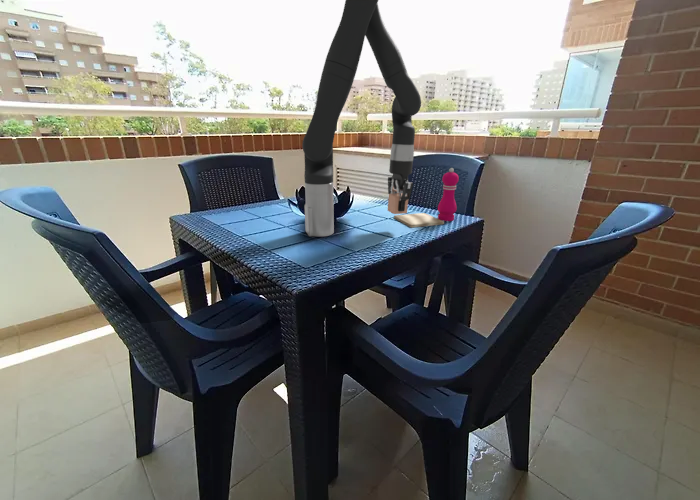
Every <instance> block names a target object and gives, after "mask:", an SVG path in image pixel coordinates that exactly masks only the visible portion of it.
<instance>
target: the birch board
mask: <svg viewBox="0 0 700 500" xmlns="http://www.w3.org/2000/svg"><path fill="white" fill-rule="evenodd" d="M393 219H395V220H397V221H398V222H401V223H402V224H404V225H405V226H408V227H410V228H420V227H428V226H429V227H431V226H439V225H444V224H445V221H442V220H439V219H438V217H435V216H432V215H430V214H428V213H425V212H422V213H421V212H420V213H408V214H407V213H405V214H394V215H393Z"/></svg>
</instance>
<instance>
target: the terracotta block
mask: <svg viewBox="0 0 700 500" xmlns="http://www.w3.org/2000/svg"><path fill="white" fill-rule="evenodd" d="M401 196H402V194H401ZM387 199H388V203H387V212H390V213H391V214H393V215H405V214H407V213H408V206H409V200H406V201H405V210H404V211H401V212H400V211H398V203H399V195H398V194H397V193H396V194H388V198H387Z"/></svg>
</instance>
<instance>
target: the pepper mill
mask: <svg viewBox="0 0 700 500" xmlns="http://www.w3.org/2000/svg"><path fill="white" fill-rule="evenodd" d="M454 169H455V168H453V167H450V168H449V169H448V172H446V173H444V174H443V175H442V183H443V185H442V189H443V193H442V197H441V199H440V201H439V203H438V205H437V211H438V215H437V219H439V220H441V221H444V222H453V221H454V220H455V213H456V212H457V208H458V207H457V202H456V200H455V192H456V191H455V190H457V184H458V183H459V175H458V174H457V173H456V172H454V171H455V170H454Z"/></svg>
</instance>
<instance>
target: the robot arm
mask: <svg viewBox="0 0 700 500" xmlns="http://www.w3.org/2000/svg"><path fill="white" fill-rule="evenodd" d="M378 2H379V0H345V2H344V7H343V12H342V16H341V17H340V19H341V20H340V22H339V24H338V27H337V29H336V31H335V34H334V36H333V39H332V41H331V43H330V46H329V49H328V52H327V55H326V57H325V61H324V64H323V69H322V72H321V77H320V79H319V80H320V81H319V84H318V90H317V93H316V94H317V95H316V101H315V106H314V111H313V113H312V117H311V120H310V122H309V125H308V128H307V131H306V132H305V134H304V136H303V140H302V145H301V146H302V147H301V148H302V151H303V154H304V191H305V196H304V197H305V204H304V224H305V225H304V227H305V232H306V234H307V236H308V237H328V236H331V235H333V234H334V232H335V229H334V228H335V225H334V222H335V219H334V218H335V217H334V214H335V213H334V211H335V210H334V206H335V205H334V148H333V147H334V139H335V134H336V130H337V126H338V121H339V118H340V116H341V113H342V111H343V109H344V107H345V105H346V102H347V101H348V100H347V99H348V97H349V95H350V93H351V90H352V87H353V84H354V80H355V78H356V74H357V71H358V67H359V63H360V58H361V55H362V53H363V52H362V50H363V47H364V43H365V38H366V40H367V42H368V44H369V46H370V49H371V51H372V54H373V55H374V58H375V60H376V63H377V65H378V68H379V70H380V73H381V75H382V79H383V80H384V83H385V85H386V87H387V88H388V89H391V91H392V93H393V94H394V96H395V97H394V98H393V101H392V105H391V120H392V129H393V131H392V142H391V149H390V157H389V169H388V171H389V174H391V175H392V176H387V193H388V195H389V194H396V193H397V194H398V195H399V203H398V211H400V212H401V211H404V210H405V201H406V200H408V201H409V200H410V198H411V196H412V195H411V194H412V190H413V187H414V182H411V181H409V175H411V174H412V173H413V165H414V164H413V162H414V155H415V150H414V149H415V138H416V137H415V135H416V129H415V127H414V125H412V124H413V123H412V122H413V121H412V119H413V118H412V117H413V116H415V115H416V114H418V113H419V111H420V109H421V106H422V97H421V95H420V92H419V90H418V88H417V87H416V85H415V83H414V81H413V80H412V77H410V76H409V73H408V71H407V68H406V65H405V62H404V59H403V56H402V54H401V52H400V49H399V47H398V45H397V44H396V42H395V40H394V39H393V37H392V36H391V33H389V31H388V29H387V27H386V25H385V23H384V21H383V17H382V14H381V12H380V8H379V3H378ZM401 194H402V196H401Z"/></svg>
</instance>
